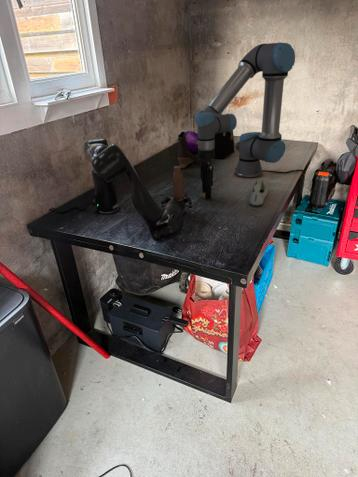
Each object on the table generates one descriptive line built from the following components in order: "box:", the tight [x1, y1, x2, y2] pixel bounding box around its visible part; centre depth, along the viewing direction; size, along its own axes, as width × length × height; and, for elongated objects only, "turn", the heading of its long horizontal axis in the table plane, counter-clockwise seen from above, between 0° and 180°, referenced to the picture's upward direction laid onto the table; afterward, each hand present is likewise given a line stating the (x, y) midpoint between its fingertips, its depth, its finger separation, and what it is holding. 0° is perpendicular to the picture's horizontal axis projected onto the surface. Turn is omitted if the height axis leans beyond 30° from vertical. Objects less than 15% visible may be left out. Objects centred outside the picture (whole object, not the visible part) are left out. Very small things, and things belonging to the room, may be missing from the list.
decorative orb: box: [184, 130, 199, 154], centre depth 230 cm, size 15×15×15 cm
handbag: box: [213, 130, 236, 160], centre depth 219 cm, size 21×9×25 cm, turn 148°
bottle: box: [172, 165, 186, 215], centre depth 145 cm, size 5×5×21 cm
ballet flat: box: [249, 179, 269, 207], centre depth 158 cm, size 8×24×8 cm, turn 163°
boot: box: [176, 131, 195, 169], centre depth 209 cm, size 9×24×20 cm, turn 168°
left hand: (179, 195), depth 150 cm, fingers closed on bottle, 4 cm apart
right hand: (206, 196), depth 161 cm, fingers closed on cap, 4 cm apart
